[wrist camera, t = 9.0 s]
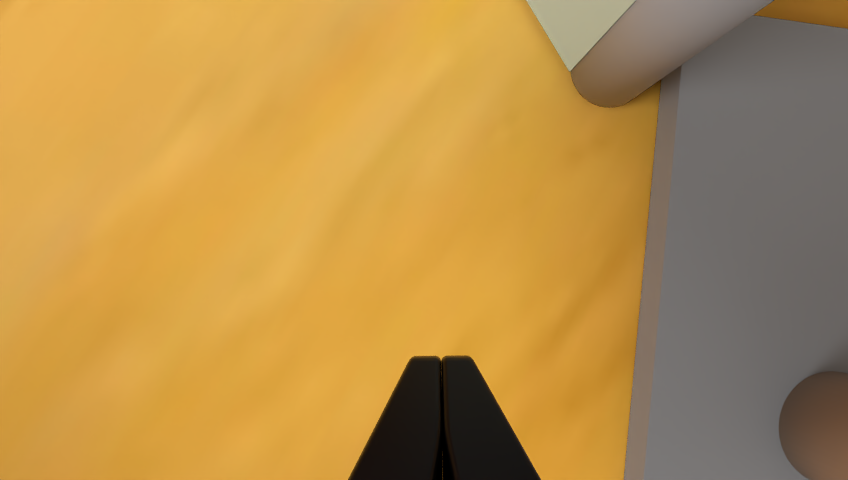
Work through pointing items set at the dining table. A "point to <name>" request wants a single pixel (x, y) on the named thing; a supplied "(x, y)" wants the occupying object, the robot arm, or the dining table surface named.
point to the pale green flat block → (633, 39)
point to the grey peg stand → (747, 264)
